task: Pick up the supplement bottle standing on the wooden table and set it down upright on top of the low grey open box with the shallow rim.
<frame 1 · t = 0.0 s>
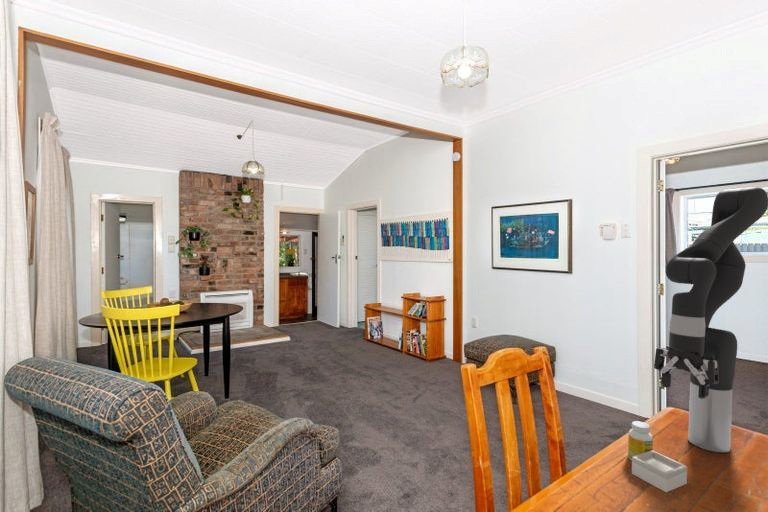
hand: (683, 392, 105), 17 cm above the table, tool pointing down, fingers open, 8 cm apart
grey open box: (658, 478, 95), on the table
supplement bottle: (639, 460, 103), on the table
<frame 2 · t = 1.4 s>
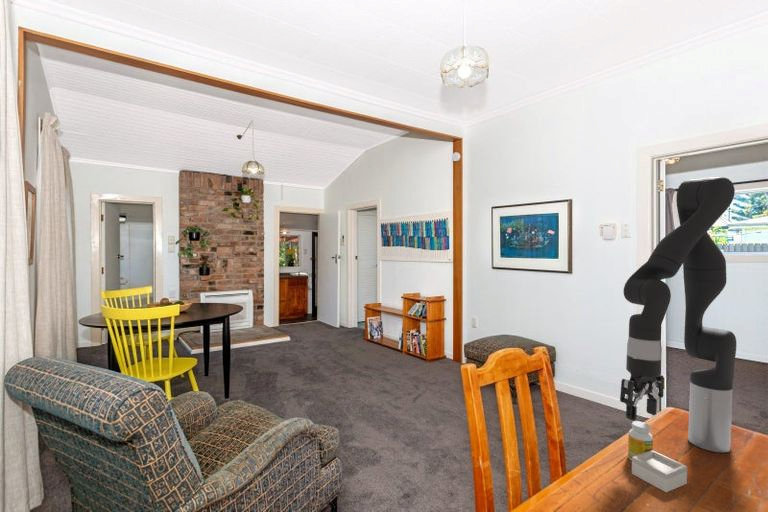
hand: (641, 416, 102), 12 cm above the table, tool pointing down, fingers open, 8 cm apart
nothing on the table moved.
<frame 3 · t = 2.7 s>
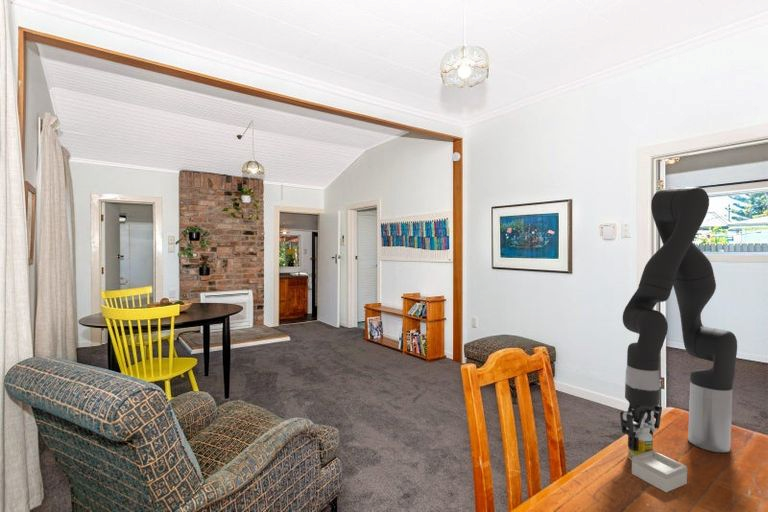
hand: (640, 447, 103), 4 cm above the table, tool pointing down, fingers closed on supplement bottle, 5 cm apart
supplement bottle: (639, 460, 103), on the table, touching gripper
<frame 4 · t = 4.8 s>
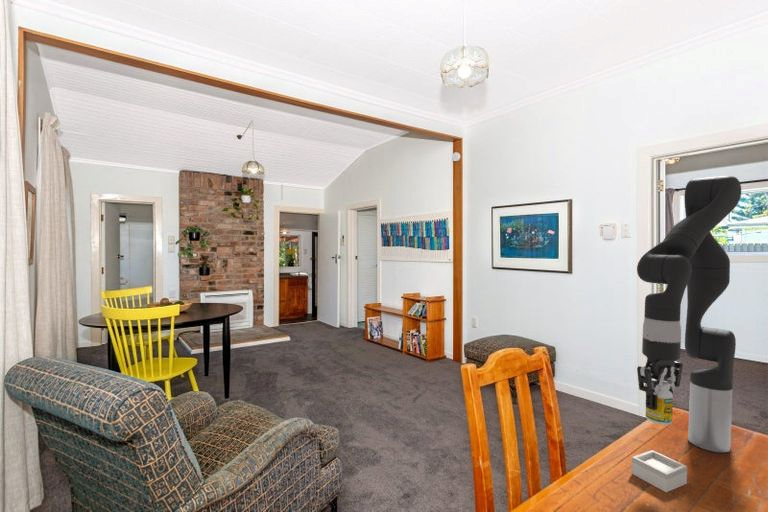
hand: (659, 406, 95), 18 cm above the table, tool pointing down, fingers closed on supplement bottle, 5 cm apart
supplement bottle: (658, 421, 95), point 14 cm above the table, touching gripper
when the fingers open (7 cm above the table, at t = 6.9 s): supplement bottle stays where it is, resting on grey open box.
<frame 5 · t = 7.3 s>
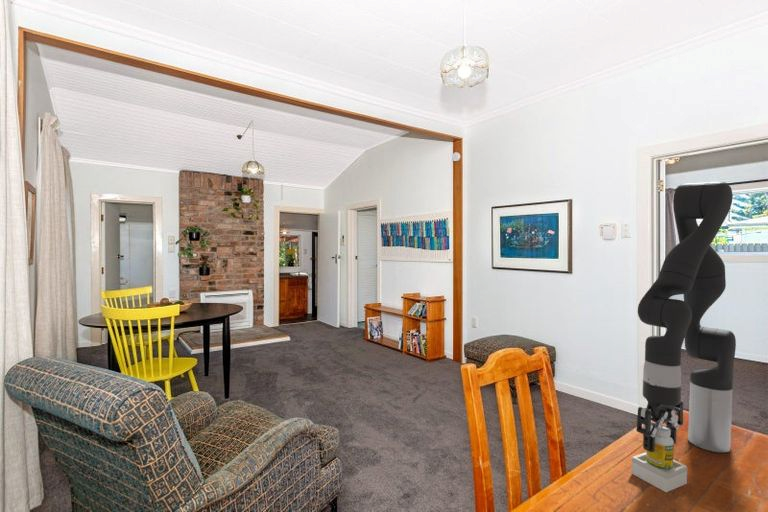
hand: (659, 446, 95), 8 cm above the table, tool pointing down, fingers open, 8 cm apart
supplement bottle: (659, 467, 95), point 3 cm above the table, touching grey open box
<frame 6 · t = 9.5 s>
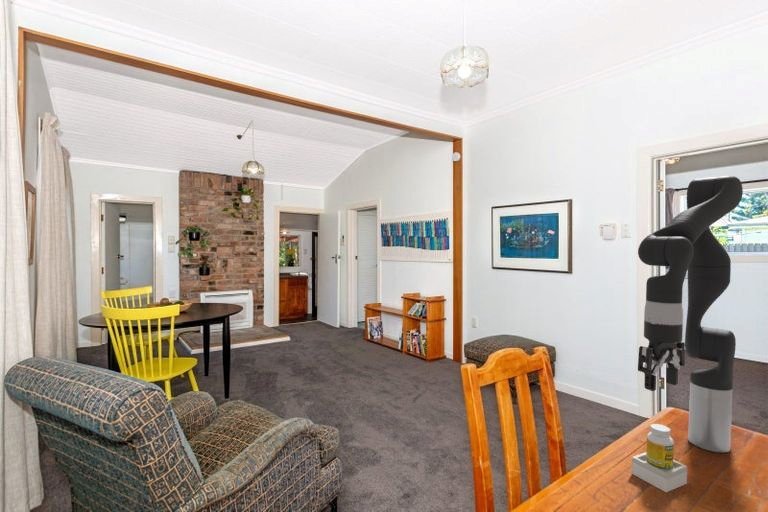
hand: (661, 386, 94), 23 cm above the table, tool pointing down, fingers open, 8 cm apart
nothing on the table moved.
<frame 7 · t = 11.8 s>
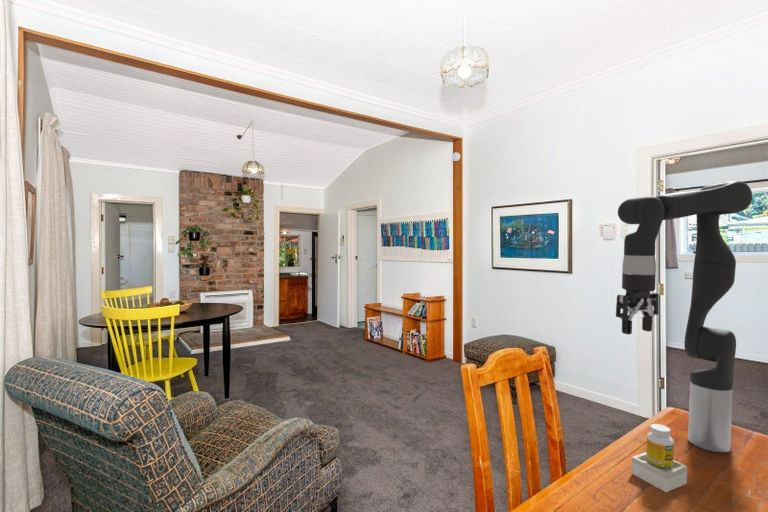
hand: (636, 332, 105), 33 cm above the table, tool pointing down, fingers open, 8 cm apart
nothing on the table moved.
at the end: supplement bottle 0.1 cm off-centre on the grey open box, point 2.8 cm above the grey open box's base; supplement bottle tilted 0°; the gripper is holding nothing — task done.
